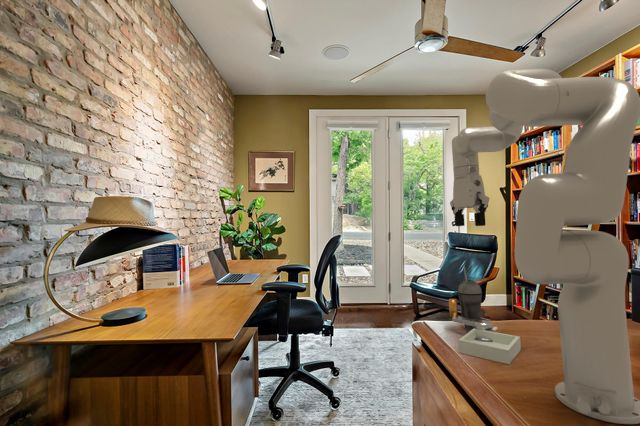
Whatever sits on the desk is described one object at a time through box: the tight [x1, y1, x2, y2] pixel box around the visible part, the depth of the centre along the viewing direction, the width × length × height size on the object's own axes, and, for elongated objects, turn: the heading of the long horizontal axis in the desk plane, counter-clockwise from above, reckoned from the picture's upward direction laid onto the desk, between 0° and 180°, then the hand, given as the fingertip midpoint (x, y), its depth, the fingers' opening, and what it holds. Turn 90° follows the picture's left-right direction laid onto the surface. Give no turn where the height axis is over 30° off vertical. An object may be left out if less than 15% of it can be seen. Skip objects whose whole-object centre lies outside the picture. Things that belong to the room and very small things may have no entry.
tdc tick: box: [490, 326, 499, 332], centre depth 98 cm, size 3×1×1 cm, turn 136°
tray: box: [458, 329, 522, 365], centre depth 82 cm, size 12×12×3 cm
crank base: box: [465, 330, 493, 342], centre depth 91 cm, size 9×9×3 cm
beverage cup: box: [457, 266, 483, 332], centre depth 100 cm, size 7×7×20 cm
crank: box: [448, 298, 494, 331], centre depth 94 cm, size 13×5×7 cm, turn 35°
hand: (469, 225), depth 100 cm, fingers open, 9 cm apart
